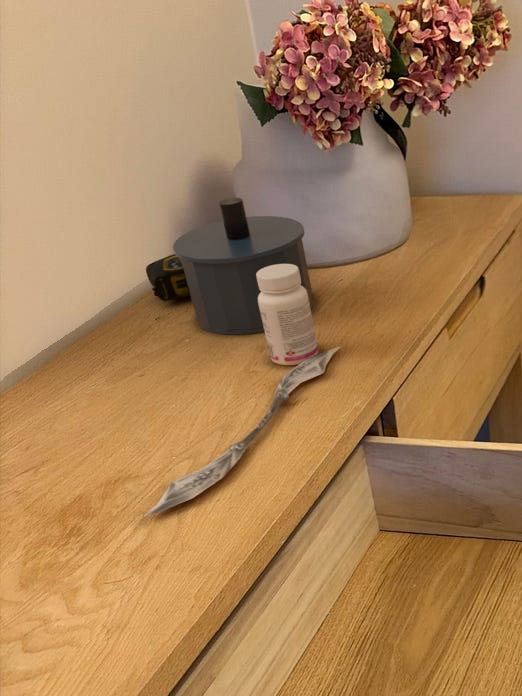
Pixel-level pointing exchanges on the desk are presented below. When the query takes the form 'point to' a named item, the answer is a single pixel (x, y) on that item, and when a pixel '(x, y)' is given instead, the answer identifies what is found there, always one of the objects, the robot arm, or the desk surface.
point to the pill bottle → (286, 315)
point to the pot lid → (238, 237)
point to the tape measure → (168, 278)
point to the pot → (236, 290)
